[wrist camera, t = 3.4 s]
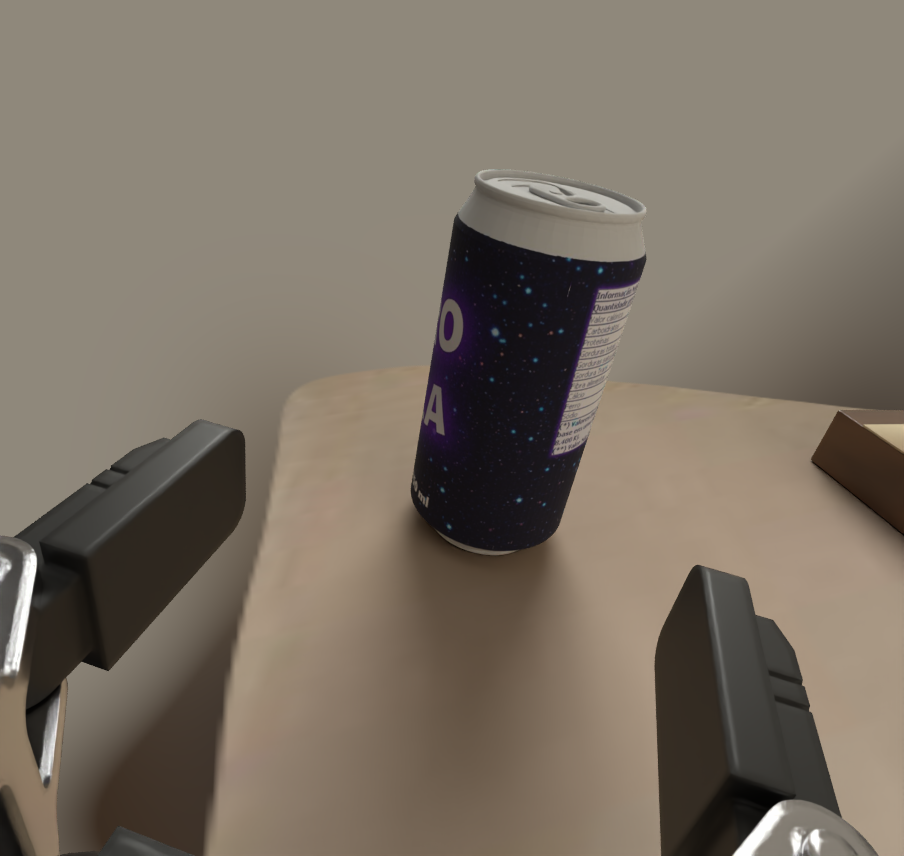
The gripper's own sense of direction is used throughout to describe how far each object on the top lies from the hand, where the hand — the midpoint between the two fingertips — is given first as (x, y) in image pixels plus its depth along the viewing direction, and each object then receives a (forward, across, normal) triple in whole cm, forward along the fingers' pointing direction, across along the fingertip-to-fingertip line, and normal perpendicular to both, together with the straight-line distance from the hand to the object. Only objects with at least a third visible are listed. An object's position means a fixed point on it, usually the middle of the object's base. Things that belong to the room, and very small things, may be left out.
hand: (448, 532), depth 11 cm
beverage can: (+10, 0, +8) cm, 13 cm away
